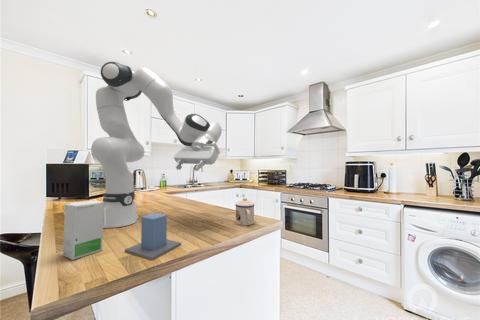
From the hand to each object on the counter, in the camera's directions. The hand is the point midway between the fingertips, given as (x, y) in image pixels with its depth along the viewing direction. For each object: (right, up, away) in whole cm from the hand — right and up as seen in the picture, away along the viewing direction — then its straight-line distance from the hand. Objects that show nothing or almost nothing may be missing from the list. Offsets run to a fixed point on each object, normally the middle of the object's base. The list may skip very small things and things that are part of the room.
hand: (186, 169), depth 82 cm
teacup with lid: (+25, -26, +11) cm, 38 cm away
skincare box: (-27, -25, -20) cm, 42 cm away
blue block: (-6, -24, -16) cm, 30 cm away
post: (-6, -25, -16) cm, 31 cm away
